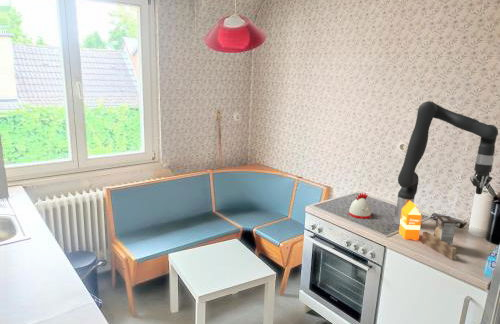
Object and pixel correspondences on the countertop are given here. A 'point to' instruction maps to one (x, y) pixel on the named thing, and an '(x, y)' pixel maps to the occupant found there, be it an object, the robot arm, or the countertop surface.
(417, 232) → the orange juice
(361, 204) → the kitchen timer
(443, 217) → the coffee box
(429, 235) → the walnut board
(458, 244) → the countertop surface
